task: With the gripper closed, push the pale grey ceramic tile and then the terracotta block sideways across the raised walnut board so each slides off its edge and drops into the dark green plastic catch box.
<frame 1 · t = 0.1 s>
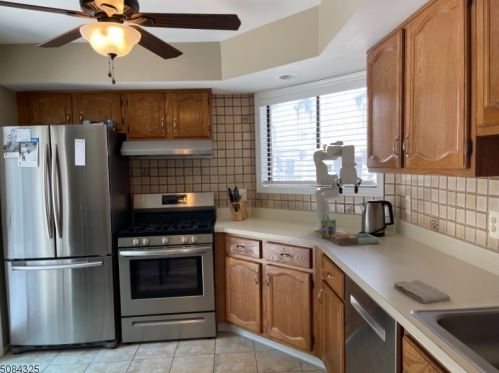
hand: (348, 193, 209), 31 cm above the worktop, tool pointing down, fingers open, 9 cm apart
grey tile: (340, 234, 219), point 4 cm above the worktop, touching walnut board
terracotta block: (344, 237, 213), point 4 cm above the worktop, touching walnut board
walnut board: (343, 242, 217), on the worktop
washcloth: (419, 295, 131), on the worktop
catch box: (362, 241, 218), on the worktop
chalk box: (329, 236, 234), on the worktop
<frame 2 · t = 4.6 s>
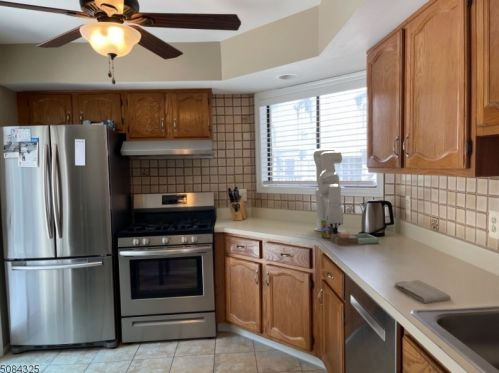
hand: (334, 233, 219), 5 cm above the worktop, tool pointing down, fingers closed
nothing on the worktop moved.
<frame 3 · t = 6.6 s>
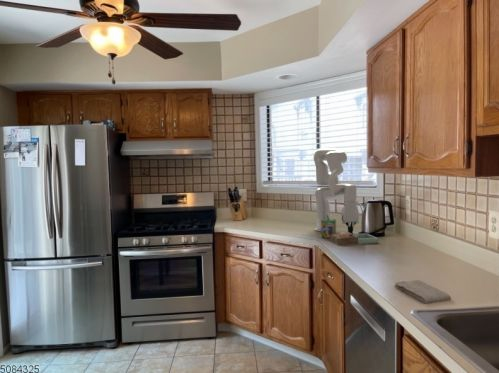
hand: (350, 232, 220), 5 cm above the worktop, tool pointing down, fingers closed
grey tile: (351, 235, 220), point 3 cm above the worktop, tilted 97°, touching catch box, gripper
everything else where it was.
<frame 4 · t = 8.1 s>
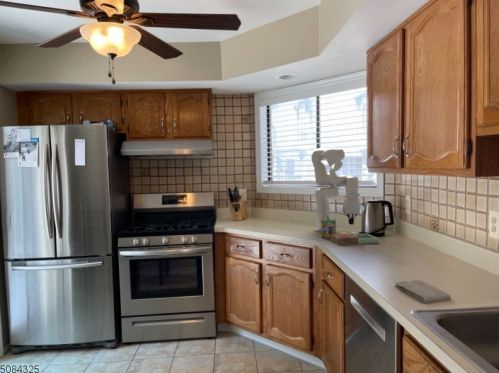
hand: (351, 224, 221), 10 cm above the worktop, tool pointing down, fingers closed
grey tile: (351, 236, 220), point 3 cm above the worktop, tilted 90°, touching catch box
everything else where it was.
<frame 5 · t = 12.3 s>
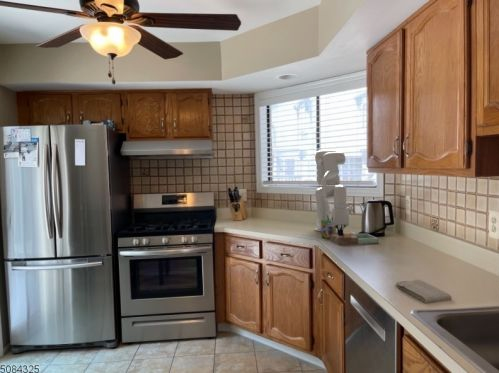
hand: (340, 235, 213), 5 cm above the worktop, tool pointing down, fingers closed
terracotta block: (346, 236, 213), point 4 cm above the worktop, touching gripper
everything else where it was.
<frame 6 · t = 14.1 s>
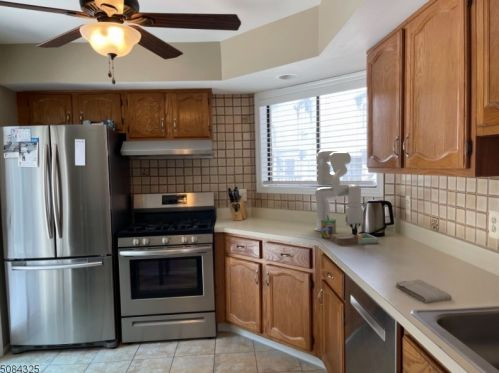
hand: (354, 234, 214), 5 cm above the worktop, tool pointing down, fingers closed
terracotta block: (356, 238, 213), point 3 cm above the worktop, tilted 97°, touching catch box, gripper
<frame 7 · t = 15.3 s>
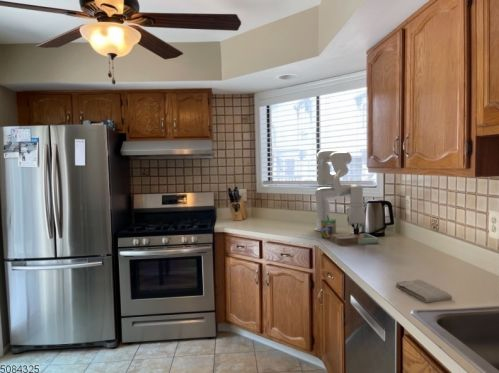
hand: (356, 234, 214), 5 cm above the worktop, tool pointing down, fingers closed
terracotta block: (357, 236, 213), point 4 cm above the worktop, tilted 117°, touching catch box
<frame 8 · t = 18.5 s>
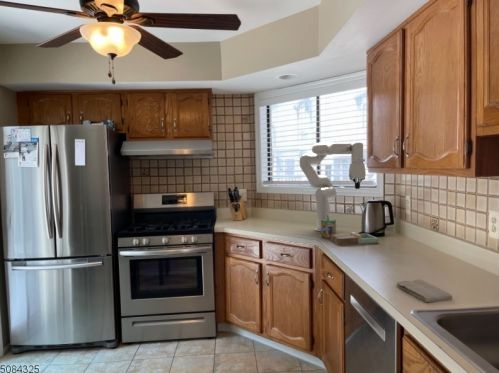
hand: (357, 188, 231), 32 cm above the worktop, tool pointing down, fingers closed
terracotta block: (355, 238, 213), point 3 cm above the worktop, tilted 90°, touching catch box
at the end: grey tile inside the target area on the catch box (6.8 cm from its centre), point 2.8 cm above the catch box's base; terracotta block inside the target area on the catch box (7.5 cm from its centre), point 2.8 cm above the catch box's base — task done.
